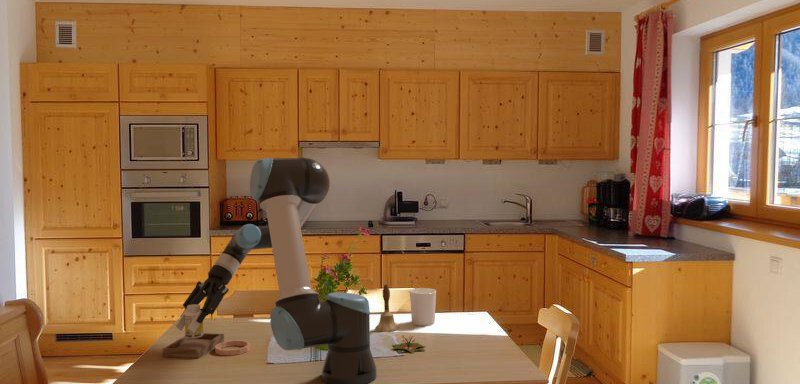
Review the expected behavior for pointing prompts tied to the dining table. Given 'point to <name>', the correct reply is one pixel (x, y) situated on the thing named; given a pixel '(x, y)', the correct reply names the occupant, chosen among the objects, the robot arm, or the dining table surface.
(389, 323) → the hand bell
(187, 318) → the supplement bottle
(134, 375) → the dining table surface
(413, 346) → the lily flower
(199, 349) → the walnut tray
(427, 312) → the candle holder
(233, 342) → the terracotta ring
